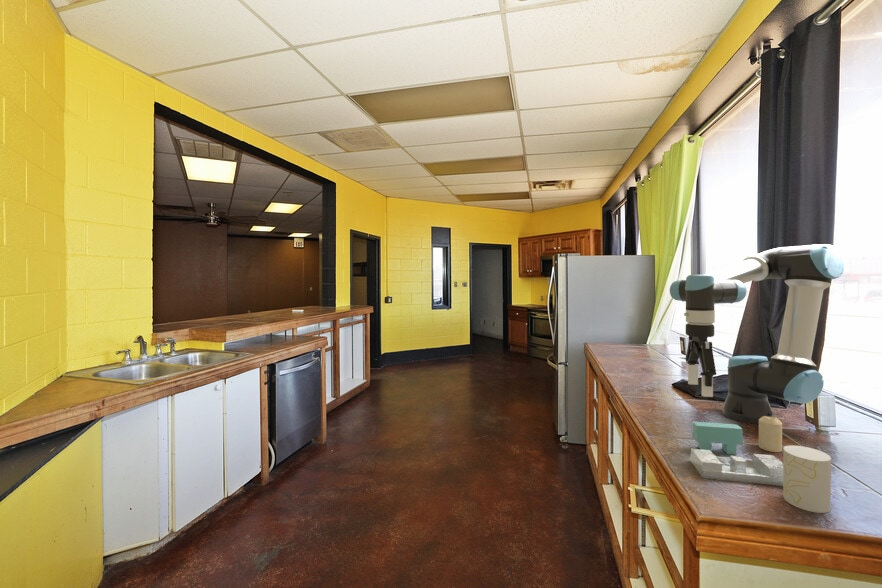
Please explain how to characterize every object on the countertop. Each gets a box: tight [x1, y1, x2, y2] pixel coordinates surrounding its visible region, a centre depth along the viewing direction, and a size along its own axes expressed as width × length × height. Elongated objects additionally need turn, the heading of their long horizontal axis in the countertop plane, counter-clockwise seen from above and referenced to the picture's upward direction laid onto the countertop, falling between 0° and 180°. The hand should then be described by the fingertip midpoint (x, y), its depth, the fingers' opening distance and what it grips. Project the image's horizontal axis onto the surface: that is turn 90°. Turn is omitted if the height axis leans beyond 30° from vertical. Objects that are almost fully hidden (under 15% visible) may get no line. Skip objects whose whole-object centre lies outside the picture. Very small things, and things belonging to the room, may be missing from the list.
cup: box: [782, 445, 832, 514], centre depth 91 cm, size 8×8×12 cm
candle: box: [758, 416, 783, 453], centre depth 118 cm, size 6×6×10 cm
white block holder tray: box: [689, 448, 783, 487], centre depth 105 cm, size 20×10×4 cm, turn 74°
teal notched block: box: [692, 421, 744, 456], centre depth 118 cm, size 12×4×8 cm, turn 74°
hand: (699, 390), depth 121 cm, fingers open, 13 cm apart
